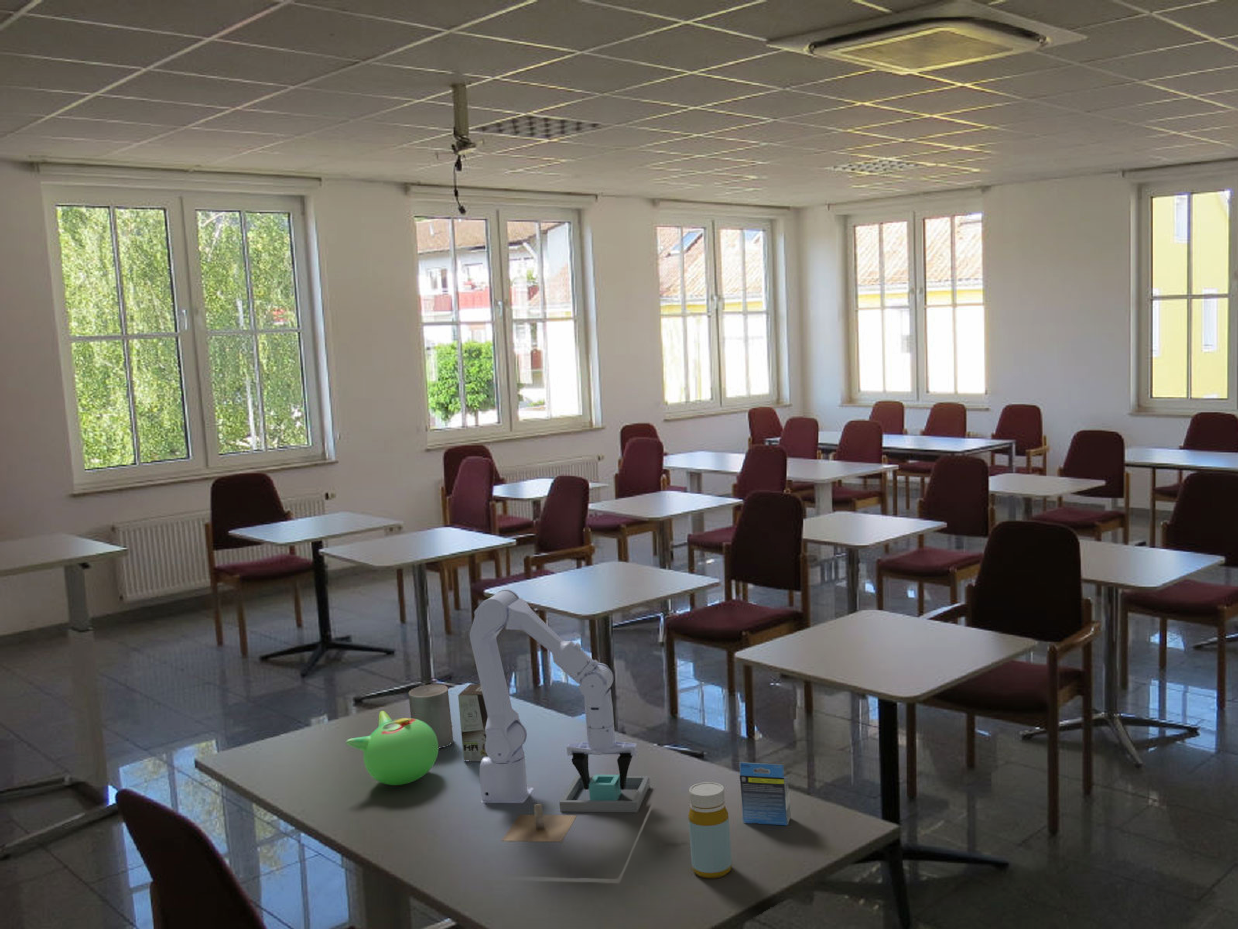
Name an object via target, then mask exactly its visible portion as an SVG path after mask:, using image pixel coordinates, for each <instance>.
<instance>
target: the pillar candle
mask: <svg viewBox="0 0 1238 929" xmlns="http://www.w3.org/2000/svg"><path fill="white" fill-rule="evenodd" d="M408 699H409V700H408V701H409V702H408V703H409V711H410V712H409V713H410V718H413V719H417V720H420V721H423V722H424V723H426V724H427V725H429V726H430V727H431V728H432V730H433V731H434V733H435V735H436V737H437V740H438V748H439V747H442V746H447V745H449V744H450V743H452V742H454V736H453V735H454V733H453V725H452V724H453V723H452V717H451V716H452V714H451V707H450V698H449V688H448V686H446V685H445V684H438V683H437V684H436V683H435V684H426V685H425V684H424V685H422V686H421V685H420V686H417V687H414V688H412V689H411V690H409V691H408ZM452 744H453V743H452ZM449 746H450V745H449ZM447 747H448V746H447Z"/></svg>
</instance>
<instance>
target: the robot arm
mask: <svg viewBox="0 0 1238 929" xmlns="http://www.w3.org/2000/svg"><path fill="white" fill-rule="evenodd" d="M473 613H474V618H473V622H472V625H471V628H470V632H469V641H470V645H471V650H472V653H473V659H474V663H475V667H476V670H477V676H478V679H479V684H480V685H481V689H482V693H483V697H484V702H485V706H486V710H487V715H488V719H487V723H486V727H485V733H486V742H485V751H486V754H487V755H488V757H484V758H483V759H482V761H480V764H479V781H480V782H479V783H480V793H481V795H480V796H481V801H480V803H485V804H486V803H489V804H490V803H493V804H495V803H498V804H499V803H504V804H505V803H506V804H512V803H513V804H523V803H525V802H526V800H527V799H528V798H529V796H530V795H531V793H532V792H533V790H534V787H528V780H527V768H526V756H525V751H524V747H523V746H524V744H525V742H526V741H527V737H528V736H527V735H528V732H527V729H526V727H525V725H523V722H522V721H521V720H520V717H519V713H518V712H517V711H516V710H514V709H513V706H512V702H511V697H510V693H509V689H508V684H507V680H506V675H505V671H504V667H503V664H502V658H501V654H500V650H499V646H498V642H497V636H498V635H499V634H500V632H501V631H502V630H503V628H504V627H505V630H522V631H524V633H526V634H527V635H529V636H530V637H531V638H532V639H534V640H535V641H536V642H537V643H539V644H540V645H541V646H543V647H544V648H545V649H546V650H548V651H549V652H550V653H551V654H552V655H551V656H552V660H553V663H554V664H555V665H556V666H558V668H560V670H562V671H563V672H564V673H565V674H566V675H567V676H569V678H571V679H572V680H573V681H574V682H575V683H577V684H579V685H578V689H579V692H580V693H581V695H582V696H583V698H584V714H585V724H586V725H585V726H586V727H585V728H586V738H587V741H583V742H581V741H580V742H574V743H573V742H572V743H571V742H570V743H568V744H567V746H566V753H567V756H568V757H570V756H572V758H571V763H572V765H573V767H575V769H576V770H577V772H578V776H580V777H581V779H582V782H583V785H584V788H583V789H584V790H588V791H589V783H590V777H589V776H590V770H589V755H594V756H602V755H618V758H617V759H616V762H617V767H618V771H619V775H620V789H621V791H625V789H626V788H625V787H626V778H627V776H628V771H629V768H630V764H631V761H632V759H633V756H637V754H638V752H639V751H638V743H635V742H633V743H632V742H626V741H625V742H624V741H617V740H616V734H615V721H614V709H613V701H612V689H611V687H612V684H613V682H614V673H613V671H612V670H611V669H610V668H609V666H608V665H607V664H605V663H602V662H599V661H598V660H597V659H593V658H592V657H591V656H590V655H589V654H587V653H586V652H585V651H584V650H583V649H581V648H582V647H583V646H582V645H581V644H580V643H579V642H576V643H575V642H574V641H572V640H563V639H562V638H561V637H560V636H559V635H558V634H557V633H556V632H555V631H554V630H553V629H552V628H551V627H550V626H549V625H548V624H547V623H545V621H544V620H543V619H541V618H540V616H538V614H537V613H535V611H534V610H533V609H532V608H531V607H530V606H529V604H528V603H527V601H526V600H524V599H523V598H521V597H519V595H518V594H517V593H516V592H515V591H513V590H511V589H501V590H499V591H498V592H496V593H495V594H494V595H492V596H490V597H489V598H487V599H485V600H483V601H482V602H481V603H480V604H479V606H478V607H477V608H476V609H475V610H474V612H473Z"/></svg>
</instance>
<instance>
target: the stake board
mask: <svg viewBox="0 0 1238 929" xmlns="http://www.w3.org/2000/svg"><path fill="white" fill-rule="evenodd" d="M533 811H534V814H519V815H518V816H517V818H516V819H515V821H514V822H513V823H512V825H511V826H510V828H509V829H508V831H507V832H506V833H505V835H504V837H503V838H502V839H501V842H535V843H536V842H540V843H541V842H543V843H545V842H546V843H549V842H550V843H562V842H563V840H564V839H565V837H566V835H567V834H568V831H569V830H570V828H571V826H572V825H573V823H574V821H575V820H576V818H577V817H578V816H577V815H570V814H569V815H564V814H563V815H562V814H560V815H559V814H556V815H555V814H544V812H543V811H544V810H543V804H542V803H536V804H534V805H533Z"/></svg>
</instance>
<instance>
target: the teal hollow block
mask: <svg viewBox="0 0 1238 929" xmlns="http://www.w3.org/2000/svg"><path fill="white" fill-rule="evenodd" d="M593 776H594V777H593V778H592V780H591V782H590V783H589V788H588V792H589V793H588V794H589V800H599V801H619V798H620V796H621V794H622V790H621V789H620V774H594V775H593Z"/></svg>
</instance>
